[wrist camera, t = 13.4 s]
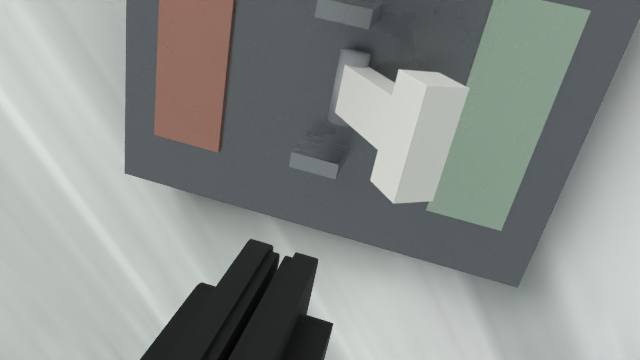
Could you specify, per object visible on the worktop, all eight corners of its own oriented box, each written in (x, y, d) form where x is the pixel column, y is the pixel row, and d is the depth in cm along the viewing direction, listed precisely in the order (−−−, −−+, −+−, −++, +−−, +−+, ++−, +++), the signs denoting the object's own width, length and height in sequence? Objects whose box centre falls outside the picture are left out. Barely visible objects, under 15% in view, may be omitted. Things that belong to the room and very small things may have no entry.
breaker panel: (158, 151, 43) (95, 192, 35) (171, -148, 33) (87, -181, 25) (509, 249, 39) (524, 321, 31) (641, -59, 29) (709, -66, 21)
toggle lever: (316, 126, 32) (393, 203, 24) (334, 32, 29) (427, 85, 22) (348, 127, 33) (432, 201, 25) (369, 36, 30) (469, 88, 23)
